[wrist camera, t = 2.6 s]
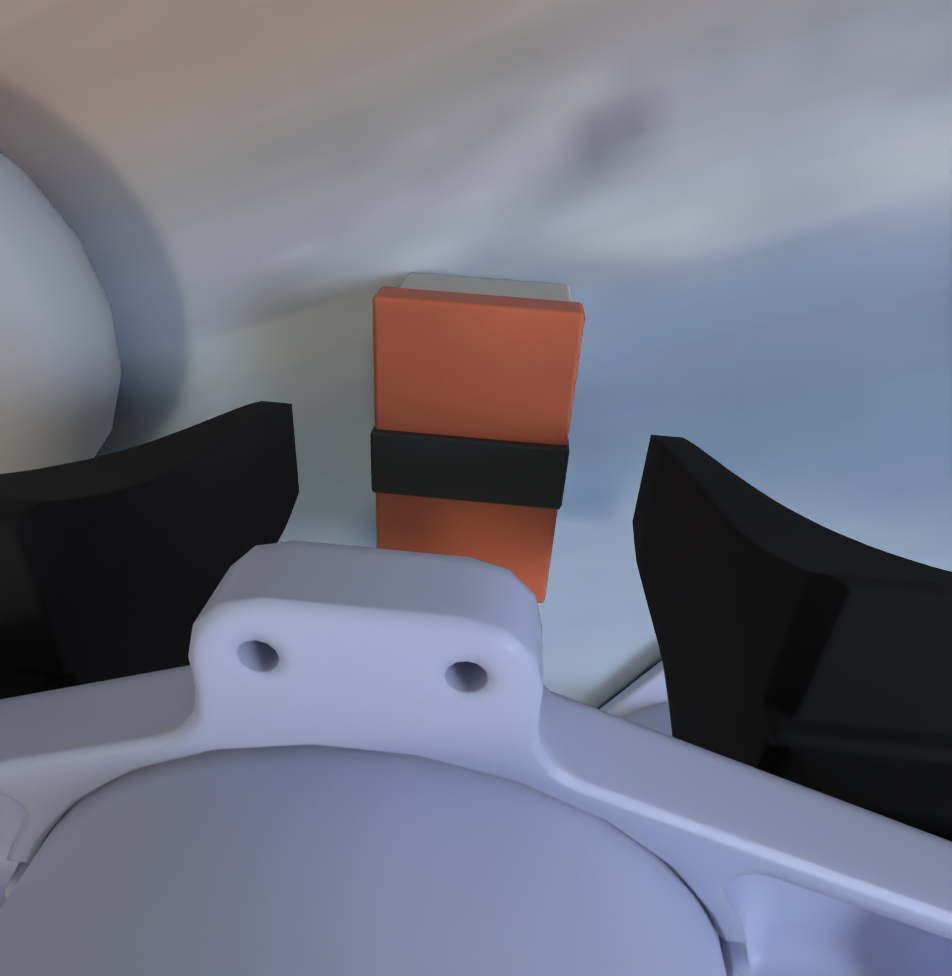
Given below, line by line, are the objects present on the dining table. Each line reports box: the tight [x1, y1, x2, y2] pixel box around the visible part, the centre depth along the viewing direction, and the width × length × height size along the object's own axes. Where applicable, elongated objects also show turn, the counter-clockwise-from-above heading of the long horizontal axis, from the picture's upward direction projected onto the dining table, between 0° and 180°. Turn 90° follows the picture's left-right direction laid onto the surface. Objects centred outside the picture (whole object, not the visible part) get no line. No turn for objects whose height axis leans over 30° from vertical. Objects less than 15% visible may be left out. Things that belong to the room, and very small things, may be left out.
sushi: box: [371, 273, 585, 603], centre depth 15 cm, size 7×4×4 cm, turn 177°
